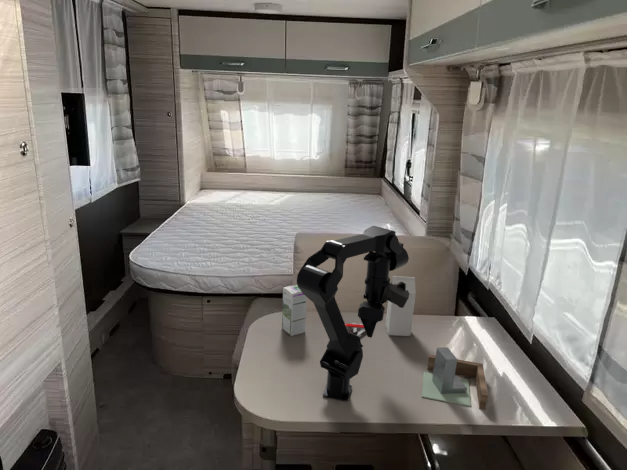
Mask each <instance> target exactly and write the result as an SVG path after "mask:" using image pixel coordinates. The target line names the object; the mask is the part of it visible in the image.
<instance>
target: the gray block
mask: <svg viewBox="0 0 627 470" xmlns="http://www.w3.org/2000/svg"><path fill="white" fill-rule="evenodd" d="M435 356H436V357H435V364H434V371H432V373H433V377H432V381H433V383H434V384H435V386H436V387H437V389H438V390H439V392H440V393H441V394H454V393H466V392H467V387H466V386H465V385H464V383H463V382H462V381H461V379H462V378H460V376H459V375H455V371H456V365H457V359H458V358H457V357H456V356H455V355H454V353H453V352H452V351H451V349H450V348H449V347H447V346H445V347H444V346H443V347H436V351H435Z"/></svg>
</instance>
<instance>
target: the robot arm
mask: <svg viewBox="0 0 627 470" xmlns="http://www.w3.org/2000/svg"><path fill="white" fill-rule="evenodd" d="M360 255H364V257H363V260H364V261H366V262H367V265H366V276H365V280H364V284H365V288H364V293H363V298H362V299H365V301H363V302H362V303H360V305H359V307H358V310H357V312H358V313H357V317H358V318H359V319H360V321H361V324H363V326H364V329H365V331H366V332H365V333H366V336H367V338H370V339H371V338H373V335H374V333H375V329H376V325H377V323H378V322H382V321H383V320H384V316H385V306H384V305H383V304H386V303H388V301H390V302H392V303H394V304H396V305H398V307H400V308H403V307H404V305H405V304H406V302H407V300H408V298H409V292H408V290H407V291H406V284H405V283H403V282H399V283H398V284H394V285H393V284H391V278H390V272H392V271H395V270H397V269H399V268H402V267H404V266H406V265H407V264H408V262H409V258H410V257H409V254H408V251H407V250H406V249H405V248H404V243H402V242H400V241H399V238H398V235H397V234H396V231H395V230H393V229H388V228H385V227H380V226H377V225H371V226H369V227H368V228H366V229H364V231H363V233H361V234H357V235H352V236H348V237H344V238H339V239H336V240H333V239H331V240H326V242H325V243H324V244H323V246H322V247H321V248H320V249H319V250H318V251H316V252H315V253H313V254H312V255H310V256H309V257H308V258H307V259H306V261H305V262H304V263H303V265H302V267H301V268H300V270H299V271H298V273H297V275H296V276H297V277H296V285H297V286H298V287H299V289H300V290H301V291H302V293H303V294H304V295H305V296H306V297H307V299H308V300H309V301H311V302H312V303H313V304H314V307H315V310H316V312H317V314H318V317H319V319H320V320H321V323H322V326H323V328H324V331H325V333H326V335H327V337H328V343H327V345H326V350H325V352H324V353H323V355H322V357H321V359H320V360H319V365H320V368H322V369H325V370H327V378H326V385H325V387H324V390H323V392H322V396H323V397H325V398H329V399H335V400H339V401H345V402H348V401H349V398H350V396H351V393H352V389H353V386H352V385H351V384H350V382H351V379H353V377H355V376H357V375H358V374H359V371H360V368H361V366H362V365H361V364H362V361H363V357H364V354H363V353H364V351H363V348H364V345H363V344H362V342H361V338H360V335H359V336H357V335H358V334H354V333H353V332H351V331H347V328H346V326H345V320H344V318H343V315H342V313H341V310H340V308H339V304H338V303H337V300H336V297H335V296H336V294H337V292H338V291H339V288H338V285H339V284H340V282H341V280H342V279H343V277H344V264H345V262H346V260H347V259H350V258H353V257H357V256H360ZM329 259H332V260H334V269H332V272H330V271H328V270H325V269H323V268H320V267H319V266H320V265H322V264H323V263H325V262H326V261H328V260H329Z"/></svg>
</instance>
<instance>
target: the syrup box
mask: <svg viewBox="0 0 627 470" xmlns="http://www.w3.org/2000/svg"><path fill="white" fill-rule="evenodd" d="M307 300H308V298H307V297H306V296H305V295H304V294H303V293H302V291H301V290H300V289H299V287H298V286H297V284H293V285H288V286H285V287H283V289H282V312H281V313H282V314H281V315H282V316H281V317H282V318H281V330H283V331H284V332H285V333H286V334H288V335H289V336H291V337H292V336H297V335H300V334H304V333H306V327H307V326H306V325H307V324H306V323H307V322H306V321H307V320H306V319H307V305H308V304H307Z"/></svg>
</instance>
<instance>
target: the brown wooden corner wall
mask: <svg viewBox="0 0 627 470" xmlns="http://www.w3.org/2000/svg"><path fill="white" fill-rule="evenodd" d="M435 357H436V354H428V360H427V367H426V370H427V371H432V372H433V371H434V364H435ZM455 375H458V377H460V376H461V377H467V378H472V379H475V388H476V394H477V396H476V397H477V402H478V409H481V410H486V408H487V402H488V397H489V393H488V387H487V386H488V385H487V381H486V375H485V369H484V364H483V363H480V362H475V361H470V360H463V359H458V358H457V365H456V371H455Z"/></svg>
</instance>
